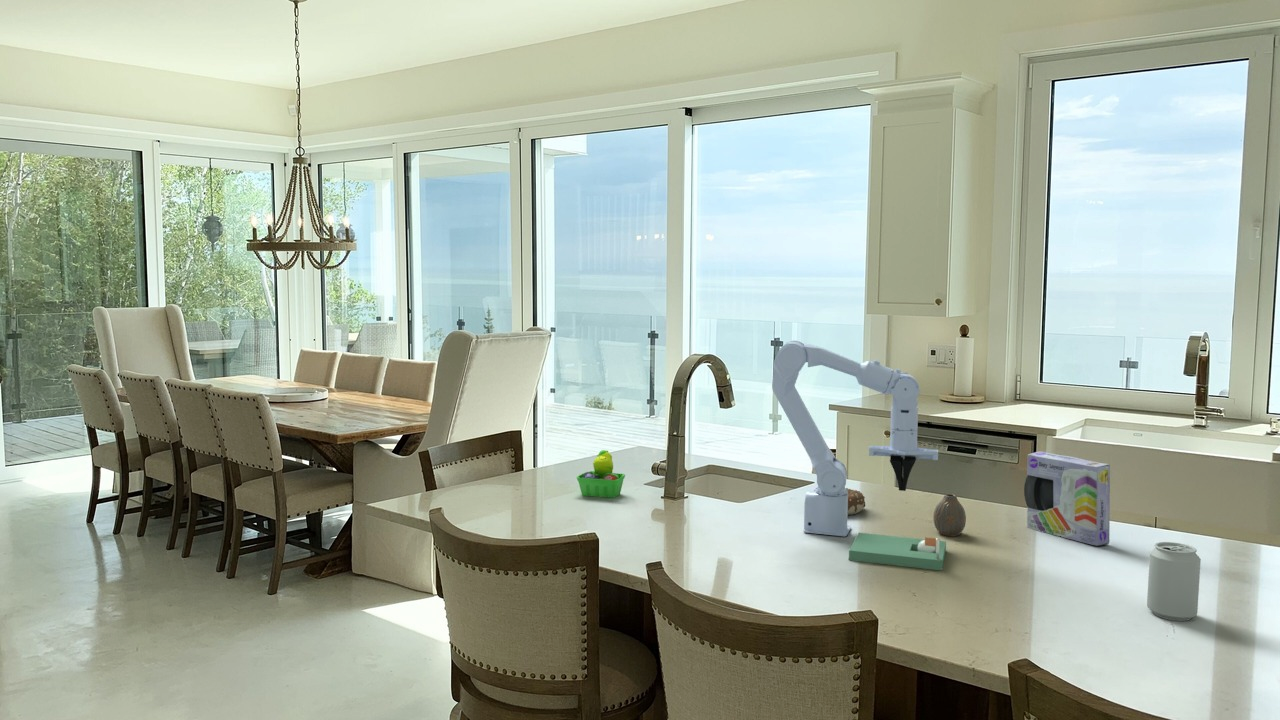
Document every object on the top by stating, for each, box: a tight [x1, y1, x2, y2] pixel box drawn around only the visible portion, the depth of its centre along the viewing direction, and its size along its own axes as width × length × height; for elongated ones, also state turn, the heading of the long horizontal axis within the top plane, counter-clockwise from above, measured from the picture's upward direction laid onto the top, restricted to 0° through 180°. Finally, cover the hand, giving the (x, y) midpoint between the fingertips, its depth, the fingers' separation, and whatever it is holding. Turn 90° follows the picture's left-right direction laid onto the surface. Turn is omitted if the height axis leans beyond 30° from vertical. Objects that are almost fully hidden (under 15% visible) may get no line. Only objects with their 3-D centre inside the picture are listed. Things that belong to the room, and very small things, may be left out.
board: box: [848, 532, 947, 571], centre depth 191 cm, size 18×14×2 cm
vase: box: [932, 493, 967, 537], centre depth 207 cm, size 7×7×9 cm
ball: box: [918, 540, 935, 553], centre depth 189 cm, size 4×4×4 cm
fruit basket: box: [576, 449, 626, 499], centre depth 243 cm, size 11×9×11 cm
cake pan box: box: [1023, 451, 1111, 547], centre depth 205 cm, size 19×5×18 cm, turn 27°
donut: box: [813, 487, 866, 516], centre depth 228 cm, size 14×14×5 cm
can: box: [1146, 541, 1202, 622], centre depth 158 cm, size 8×8×12 cm
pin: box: [924, 536, 941, 559], centre depth 183 cm, size 3×1×6 cm, turn 69°
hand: (902, 489), depth 204 cm, fingers closed
